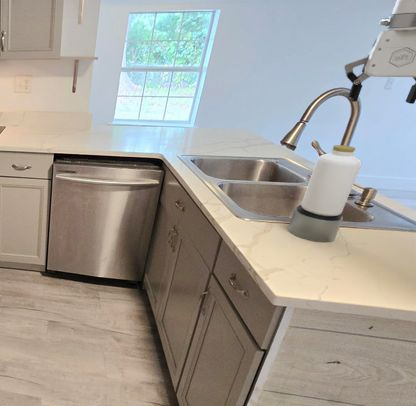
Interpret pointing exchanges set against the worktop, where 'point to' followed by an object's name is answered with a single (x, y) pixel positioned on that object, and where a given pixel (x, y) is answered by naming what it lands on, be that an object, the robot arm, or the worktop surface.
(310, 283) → the worktop surface
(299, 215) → the grey cylinder
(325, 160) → the white bottle
